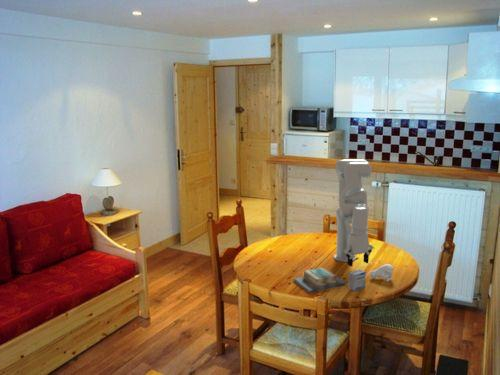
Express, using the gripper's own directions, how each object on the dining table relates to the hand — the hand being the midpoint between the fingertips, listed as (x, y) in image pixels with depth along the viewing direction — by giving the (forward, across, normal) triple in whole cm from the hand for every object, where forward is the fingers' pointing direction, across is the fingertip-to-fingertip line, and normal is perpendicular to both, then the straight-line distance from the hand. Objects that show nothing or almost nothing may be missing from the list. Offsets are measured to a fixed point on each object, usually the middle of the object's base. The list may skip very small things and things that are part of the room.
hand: (358, 264), depth 231 cm
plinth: (+13, +14, -14) cm, 23 cm away
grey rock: (+13, -18, -4) cm, 23 cm away
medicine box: (+13, 0, -1) cm, 13 cm away
